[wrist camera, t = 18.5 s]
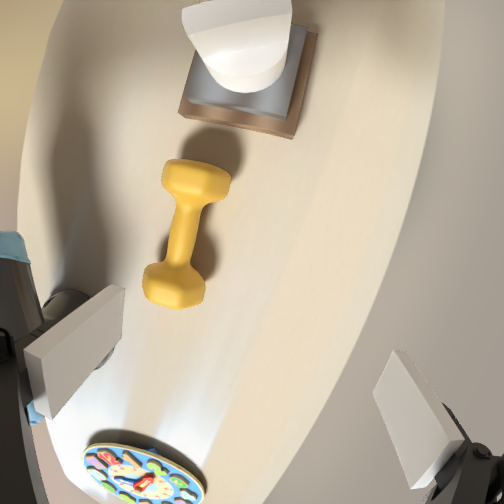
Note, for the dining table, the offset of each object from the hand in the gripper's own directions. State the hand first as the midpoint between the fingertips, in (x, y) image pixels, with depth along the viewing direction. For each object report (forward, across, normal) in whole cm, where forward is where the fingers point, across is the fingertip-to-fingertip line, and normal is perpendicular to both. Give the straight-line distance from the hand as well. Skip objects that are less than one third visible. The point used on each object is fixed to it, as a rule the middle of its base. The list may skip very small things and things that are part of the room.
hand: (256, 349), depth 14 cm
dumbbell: (+31, -10, -2) cm, 33 cm away
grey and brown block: (+31, -7, +21) cm, 38 cm away
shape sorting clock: (+31, -14, -63) cm, 72 cm away
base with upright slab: (+23, -7, +21) cm, 32 cm away
